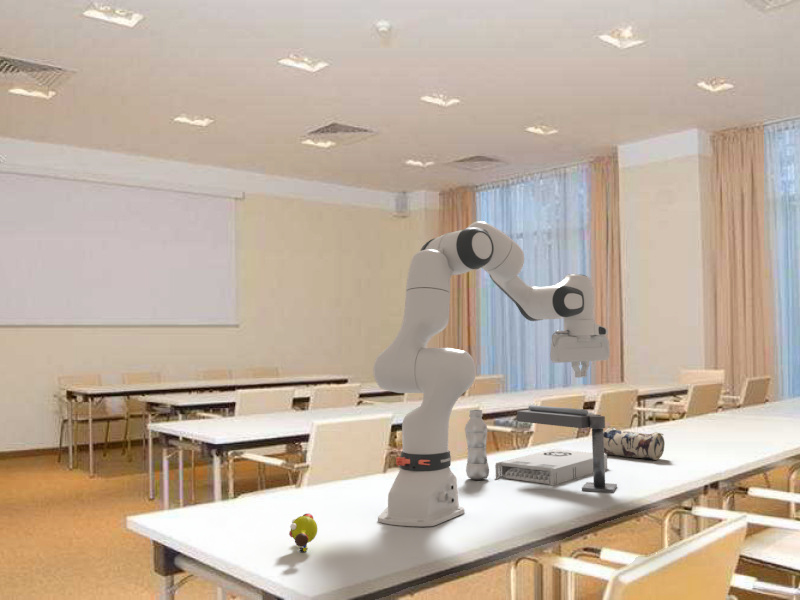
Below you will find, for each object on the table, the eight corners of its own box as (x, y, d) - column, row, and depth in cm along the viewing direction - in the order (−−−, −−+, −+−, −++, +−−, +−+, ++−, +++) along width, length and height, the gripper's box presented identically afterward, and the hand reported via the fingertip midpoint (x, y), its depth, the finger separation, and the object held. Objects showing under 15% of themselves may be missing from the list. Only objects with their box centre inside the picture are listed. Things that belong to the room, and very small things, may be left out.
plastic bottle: (488, 481, 213) (486, 411, 214) (464, 481, 214) (463, 411, 215) (490, 477, 219) (488, 409, 220) (467, 477, 221) (465, 409, 222)
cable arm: (613, 427, 202) (612, 409, 202) (593, 429, 197) (593, 412, 197) (535, 419, 224) (535, 403, 224) (517, 421, 219) (516, 405, 220)
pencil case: (597, 455, 255) (596, 426, 256) (611, 452, 261) (610, 424, 261) (656, 462, 239) (655, 432, 239) (669, 459, 244) (668, 429, 245)
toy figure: (293, 539, 156) (293, 506, 157) (320, 538, 157) (319, 505, 157) (285, 565, 138) (284, 528, 139) (315, 564, 139) (314, 527, 139)
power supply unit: (495, 480, 219) (495, 463, 219) (554, 464, 243) (553, 448, 243) (551, 488, 206) (551, 469, 206) (607, 470, 230) (607, 454, 231)
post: (612, 492, 195) (610, 431, 196) (581, 490, 198) (579, 430, 199) (616, 486, 202) (614, 427, 203) (586, 485, 205) (584, 426, 206)
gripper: (559, 330, 210) (561, 379, 210) (612, 329, 221) (613, 376, 220) (544, 330, 216) (546, 378, 215) (596, 329, 226) (598, 375, 225)
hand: (580, 377), depth 218 cm, fingers closed
